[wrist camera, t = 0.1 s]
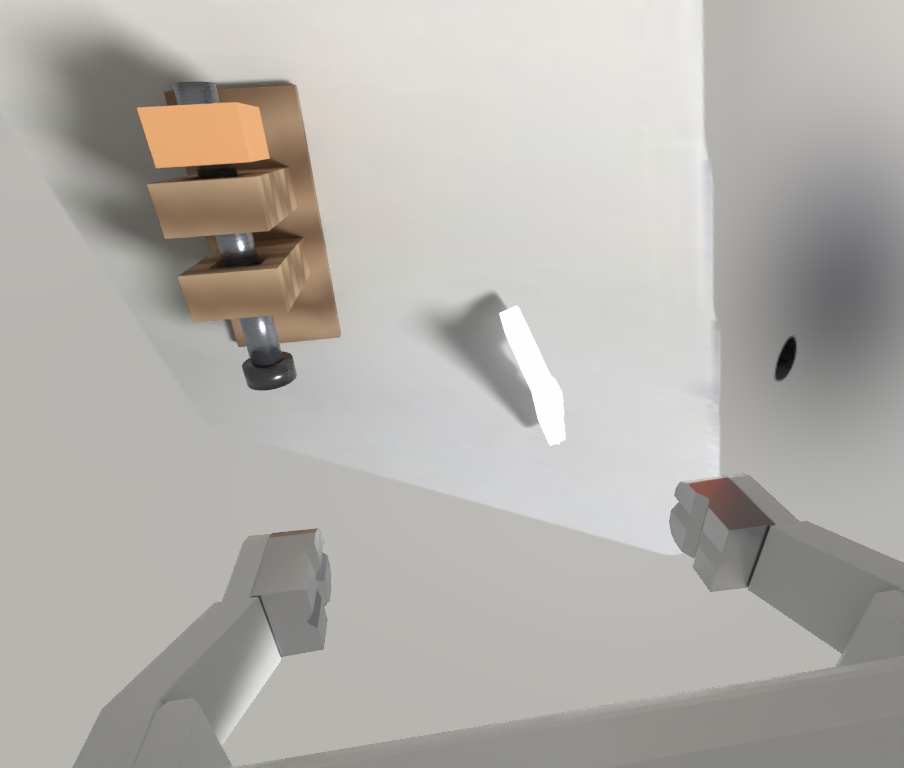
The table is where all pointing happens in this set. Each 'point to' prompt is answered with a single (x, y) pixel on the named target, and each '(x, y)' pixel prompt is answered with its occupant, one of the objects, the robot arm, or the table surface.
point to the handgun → (536, 375)
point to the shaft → (239, 250)
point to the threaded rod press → (257, 228)
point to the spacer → (204, 134)
